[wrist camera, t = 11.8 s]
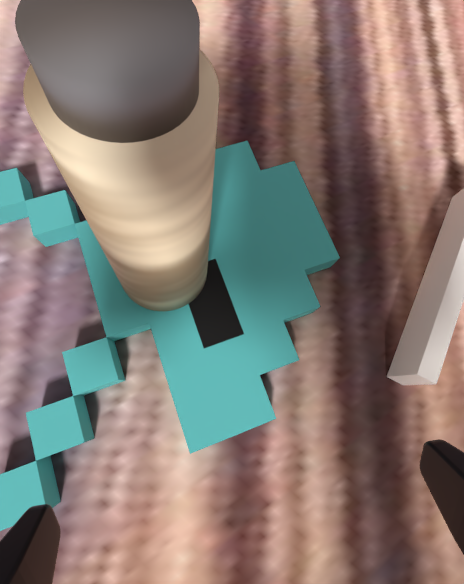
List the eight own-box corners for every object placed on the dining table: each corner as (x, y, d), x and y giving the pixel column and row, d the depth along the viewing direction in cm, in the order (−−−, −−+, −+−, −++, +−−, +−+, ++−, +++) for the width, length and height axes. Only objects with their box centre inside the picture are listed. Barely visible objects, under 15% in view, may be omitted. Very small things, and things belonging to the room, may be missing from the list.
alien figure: (21, 515, 17) (373, 373, 20) (-6, 533, 15) (393, 370, 18) (-46, 178, 22) (250, 103, 25) (-73, 156, 20) (254, 77, 23)
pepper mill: (224, 275, 19) (268, 38, 7) (156, 329, 18) (76, 143, 6) (170, 217, 20) (134, -73, 8) (101, 265, 19) (-59, -5, 7)
